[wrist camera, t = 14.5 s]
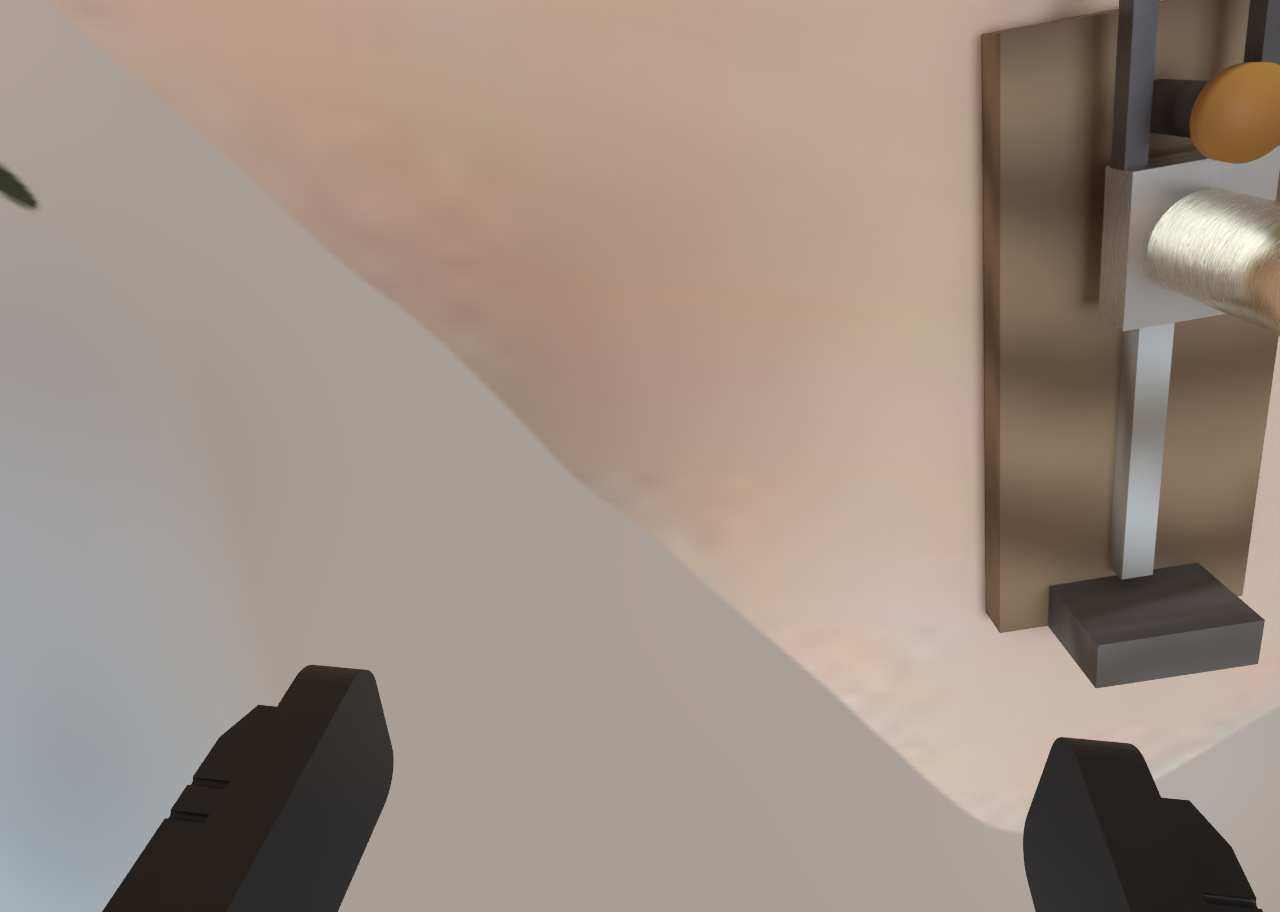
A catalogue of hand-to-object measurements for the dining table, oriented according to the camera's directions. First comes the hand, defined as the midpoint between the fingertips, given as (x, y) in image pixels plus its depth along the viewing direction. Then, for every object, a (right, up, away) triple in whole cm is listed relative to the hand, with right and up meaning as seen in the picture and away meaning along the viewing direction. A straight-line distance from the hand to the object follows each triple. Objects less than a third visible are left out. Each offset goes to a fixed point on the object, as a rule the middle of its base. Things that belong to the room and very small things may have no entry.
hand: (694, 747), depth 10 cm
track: (+17, +8, +23) cm, 29 cm away
